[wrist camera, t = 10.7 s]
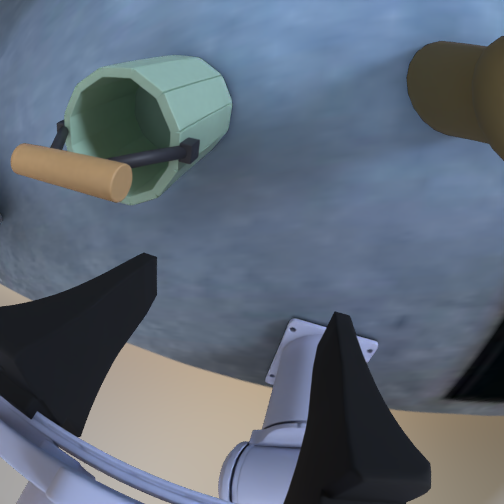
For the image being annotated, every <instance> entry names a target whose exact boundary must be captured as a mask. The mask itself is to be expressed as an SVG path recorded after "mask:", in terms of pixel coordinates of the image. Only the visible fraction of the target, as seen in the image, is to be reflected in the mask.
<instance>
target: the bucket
mask: <svg viewBox="0 0 504 504" xmlns="http://www.w3.org/2000/svg"><path fill="white" fill-rule="evenodd" d="M231 102H232V99H231V97H230V94H229V92H228V89H227V86H226V84H225V81H224V79H223V76H221V74H220V73H219V72H218V71H216V70H215V69H214V68H212V67H211V66H210V65H209V64H207V63H206V62H205V61H203V60H202V59H201V58H198V57H191V56H180V55H169V56H161V57H154V58H147V59H141V60H135V61H129V62H124V63H119V64H114V65H109V66H104V67H101V68H99V69H97V70H96V71H95V72H93V73H92V74H90V75H89V76H88V77H86V78H85V79H84V80H82V81H81V82H80V83H78V84H77V86H76V87H75V89H74V91H73V93H72V96H71V98H70V101H69V103H68V106H67V108H66V111H65V115H64V120H62V121H60V122H58V123H57V135H56V137H55V139H54V141H53V143H52V145H51V147H50V148H48V147H43V146H37V145H32V144H26V143H23V144H20V145H19V146H17V147H16V149H15V150H14V151H13V154H12V156H11V167H12V170H13V171H14V172H15V173H16V174H19V175H23V176H26V177H30V178H33V179H37V180H40V181H43V182H47V183H50V184H54V185H57V186H61V187H64V188H67V189H71V190H74V191H78V192H81V193H85V194H88V195H91V196H95V197H98V198H102V199H105V200H108V201H112V202H115V203H117V202H120V203H124V204H127V205H135V204H139V203H142V202H145V201H148V200H152V199H155V198H158V197H159V196H161V195H162V194H163V193H164V192H165V191H166V190H167V189H168V188H169V187H170V186H171V185H172V184H174V183H175V182H176V181H177V180H178V179H179V178H180V177H181V176H182V175H184V174H185V173H186V172H187V171H188V170H189V169H190V168H191V167H193V166H194V165H195V164H196V163H197V162H198V161H199V160H201V159H202V158H203V157H204V156H205V155H206V154H208V153H209V152H210V151H211V150H212V149H213V148H214V147H215V146H216V144H217V143H218V142H219V141H220V140H221V138H222V137H223V136H224V135H225V134H226V133H227V130H228V129H229V123H230V116H231V110H232V103H231ZM65 141H66V146H67V150H68V151H64V150H62V149H63V146H64V143H65Z"/></svg>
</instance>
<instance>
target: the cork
mask: <svg viewBox="0 0 504 504" xmlns="http://www.w3.org/2000/svg"><path fill="white" fill-rule="evenodd" d="M407 87H408V94H409V97H410V99H411V102H412V105H413V107H414V109H415V110H416V112H417V113H418V114H419V116H420V117H421V119H422V120H423V121H424V122H425V123H427V124H428V125H429V126H430V127H432V128H433V129H434V130H436V131H438V132H441V133H443V134H446V135H449V136H455V137H460V138H465V139H470V140H474V141H479V142H483V143H488V144H490V146H491V147H492V149H493V150H494V151H495V152H496V153H497V154H498V155H499V156H500V157H501V158H502V159H503V161H504V36H501V37H500V38H498V39H497V40H496V41H494V42H493V43H491V44H490V45H489V46H488V47H486V46H480V45H472V44H465V43H456V42H446V41H438V42H434V43H430V44H427V45H426V46H424V47H423V48H422V49H420V50H419V51H418V52H416V54H415V56H414V57H413V59H412V61H411V62H410V64H409V69H408V74H407Z"/></svg>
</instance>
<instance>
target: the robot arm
mask: <svg viewBox="0 0 504 504" xmlns="http://www.w3.org/2000/svg"><path fill="white" fill-rule="evenodd" d="M156 295H157V257H155V256H152V255H149V254H146V253H142V254H140V255H138V256H136V257H134V258H132V259H130V260H128V261H126V262H125V263H123V264H121V265H119V266H117V267H115V268H113V269H111V270H110V271H108V272H106V273H104V274H102V275H100V276H98V277H96V278H94V279H92V280H89V281H87V282H85V283H83V284H81V285H79V286H76V287H74V288H72V289H69V290H66V291H64V292H61V293H58V294H55V295H52V296H49V297H45V298H42V299H39V300H35V301H31V302H27V303H22V304H16V305H10V306H2V307H0V457H1V458H2V459H3V460H5V461H6V462H7V463H8V464H9V465H10V466H12V467H13V468H14V469H15V470H16V471H18V472H19V473H20V474H21V475H22V476H24V477H25V478H26V479H28V480H29V482H28V483H27V485H26V487H25V489H24V490H23V492H22V494H21V496H20V498H19V499H18V501H17V503H16V504H144V503H142V502H139V501H137V500H135V499H133V498H131V497H128V496H126V495H124V494H122V493H120V492H118V491H116V490H114V489H111V488H110V487H108V486H106V485H104V484H102V483H100V482H98V481H96V480H95V477H94V476H93V475H91V474H90V473H89V472H87V471H86V470H85V469H84V468H83V467H82V466H81V465H80V463H79V462H78V461H76V460H75V459H73V458H72V457H70V456H69V455H68V454H66V453H65V452H63V451H62V450H61V449H63V450H65V451H66V452H68V453H69V454H71V455H73V456H74V457H76V458H77V459H79V460H81V461H83V462H84V463H86V464H88V465H90V466H91V467H93V468H95V469H97V470H99V471H101V472H103V473H104V474H106V475H108V476H110V477H112V478H114V479H116V480H118V481H120V482H122V483H124V484H126V485H129V486H131V487H133V488H135V489H137V490H140V491H142V492H144V493H146V494H149V495H151V496H154V497H156V498H159V499H161V500H164V501H166V502H169V503H171V504H406V502H408V501H411V500H413V499H415V498H417V497H420V496H421V495H423V494H425V493H427V492H428V490H429V489H430V488H431V467H430V463H429V461H428V460H427V459H426V458H425V457H424V456H423V455H422V454H421V453H420V451H419V450H418V449H417V448H416V447H415V446H414V445H413V443H412V442H411V441H410V439H409V438H408V437H407V436H406V434H405V433H404V431H403V430H402V429H401V427H400V426H399V424H398V423H397V421H396V420H395V418H394V417H393V415H392V414H391V412H390V410H389V409H388V407H387V405H386V404H385V402H384V400H383V398H382V396H381V394H380V392H379V390H378V388H377V386H376V384H375V382H374V380H373V377H372V375H371V373H370V371H369V368H368V366H367V362H368V361H369V360H370V358H371V357H372V355H373V354H374V353H375V351H376V350H377V348H378V343H377V341H374V340H370V339H367V338H363V337H359V336H356V333H355V330H354V327H353V324H352V320H351V318H350V316H349V315H346V314H342V313H338V312H334V314H333V316H332V318H331V320H330V322H329V324H328V326H327V327H324V326H320V325H317V324H313V323H310V322H306V321H303V320H300V319H296V318H293V319H291V320H290V321H289V323H288V326H287V328H286V331H285V333H284V335H283V338H282V340H281V343H280V345H279V348H278V350H277V352H276V355H275V357H274V360H273V362H272V364H271V367H270V369H269V371H268V374H267V376H266V379H265V381H266V382H267V383H269V384H272V385H273V389H272V393H271V397H270V401H269V405H268V409H267V412H266V416H265V420H264V423H263V427H262V430H253V431H252V435H251V438H250V441H249V442H246V441H245V442H241V443H239V444H238V445H237V446H236V447H235V448H234V449H233V450H232V451H231V452H230V453H229V454H228V456H227V457H226V459H225V461H224V463H223V466H222V469H221V472H220V477H219V484H218V492H219V498H220V499H219V498H215V497H212V496H209V495H206V494H202V493H199V492H196V491H193V490H191V489H188V488H185V487H182V486H179V485H177V484H174V483H171V482H169V481H166V480H164V479H161V478H159V477H156V476H154V475H151V474H149V473H147V472H145V471H142V470H140V469H138V468H136V467H133V466H131V465H129V464H127V463H125V462H123V461H121V460H119V459H117V458H115V457H113V456H111V455H109V454H107V453H105V452H103V451H101V450H99V449H97V448H96V447H94V446H92V445H90V444H88V443H86V442H85V441H83V440H81V439H80V438H78V437H80V436H81V434H82V431H83V428H84V426H85V423H86V420H87V417H88V415H89V412H90V410H91V407H92V405H93V402H94V400H95V398H96V396H97V393H98V391H99V389H100V387H101V385H102V383H103V381H104V379H105V377H106V375H107V373H108V371H109V369H110V367H111V365H112V363H113V362H114V360H115V358H116V357H117V355H118V353H119V352H120V350H121V349H122V348H123V346H124V345H125V343H126V342H127V341H128V339H129V338H130V336H131V335H132V334H133V332H134V331H135V330H136V328H137V327H138V325H139V324H140V323H141V321H142V320H143V318H144V317H145V315H146V314H147V312H148V310H149V309H150V307H151V305H152V303H153V301H154V299H155V297H156ZM292 327H293V328H295V329H292ZM368 349H371V350H368ZM59 447H60V448H61V449H59Z"/></svg>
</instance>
